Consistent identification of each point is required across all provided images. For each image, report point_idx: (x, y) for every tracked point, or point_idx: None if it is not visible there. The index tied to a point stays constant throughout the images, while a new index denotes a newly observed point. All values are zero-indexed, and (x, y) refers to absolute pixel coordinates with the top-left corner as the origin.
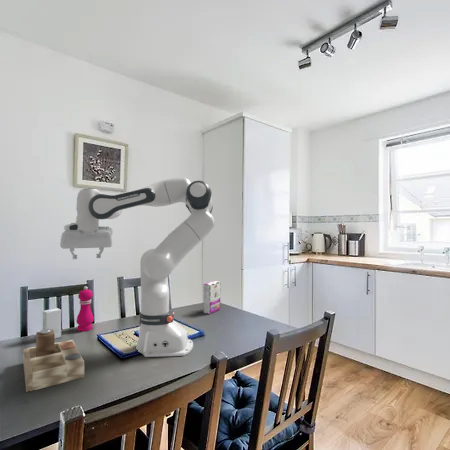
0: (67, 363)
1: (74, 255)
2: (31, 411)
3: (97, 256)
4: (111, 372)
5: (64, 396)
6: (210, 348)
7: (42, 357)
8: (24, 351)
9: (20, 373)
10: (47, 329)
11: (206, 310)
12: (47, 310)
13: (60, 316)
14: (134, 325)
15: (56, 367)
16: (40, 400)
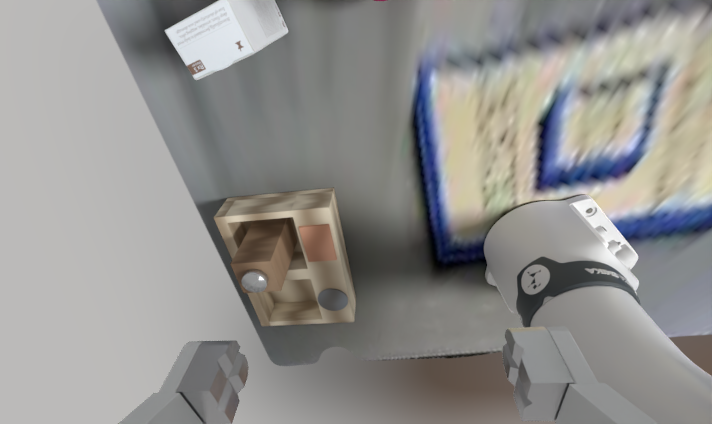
0: (324, 316)
1: (201, 419)
2: (289, 341)
3: (512, 381)
4: (403, 301)
5: (326, 330)
6: (638, 297)
7: None
8: (221, 233)
9: None
10: (257, 280)
11: None
12: (187, 40)
13: (262, 48)
14: (597, 8)
15: (306, 322)
16: (295, 326)
